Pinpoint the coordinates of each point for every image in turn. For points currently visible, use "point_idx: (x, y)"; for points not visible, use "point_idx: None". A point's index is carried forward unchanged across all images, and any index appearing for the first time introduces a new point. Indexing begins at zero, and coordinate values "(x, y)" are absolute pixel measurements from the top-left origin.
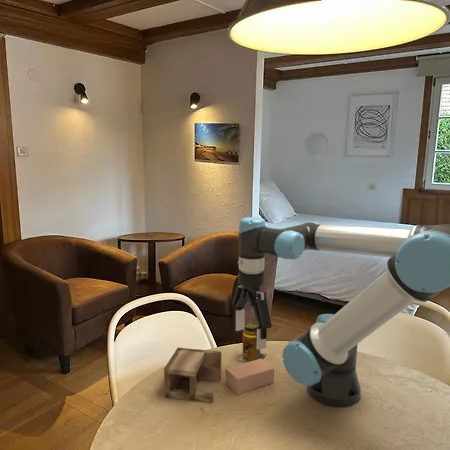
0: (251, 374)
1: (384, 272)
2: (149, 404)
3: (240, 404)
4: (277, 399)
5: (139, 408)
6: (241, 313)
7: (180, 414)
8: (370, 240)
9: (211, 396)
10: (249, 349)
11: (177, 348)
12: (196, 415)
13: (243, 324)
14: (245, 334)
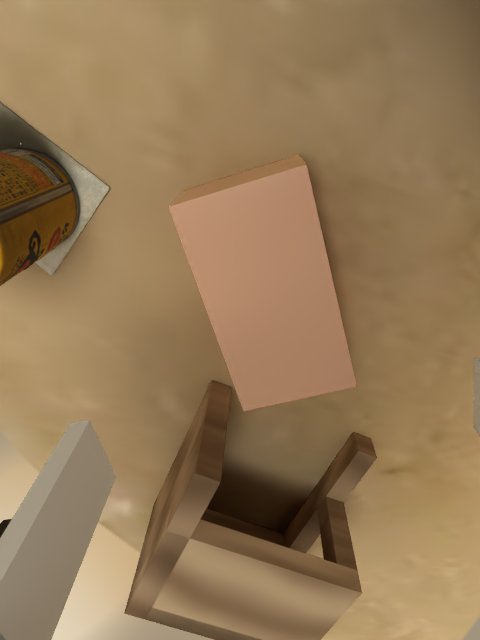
0: (334, 313)
1: None
2: None
3: (417, 351)
4: (447, 186)
5: None
6: (26, 598)
7: (396, 524)
8: None
9: (375, 459)
10: (44, 246)
11: (134, 615)
12: (420, 489)
13: (73, 463)
14: None
